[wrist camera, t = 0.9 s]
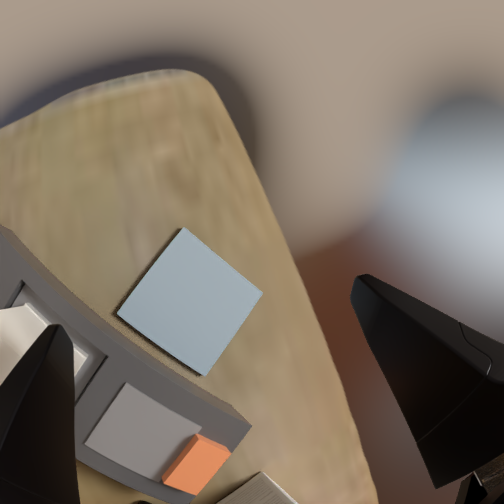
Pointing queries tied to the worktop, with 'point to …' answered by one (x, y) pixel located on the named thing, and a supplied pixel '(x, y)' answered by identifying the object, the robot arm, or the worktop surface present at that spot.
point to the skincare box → (259, 493)
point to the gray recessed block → (126, 394)
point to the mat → (190, 302)
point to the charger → (24, 337)
